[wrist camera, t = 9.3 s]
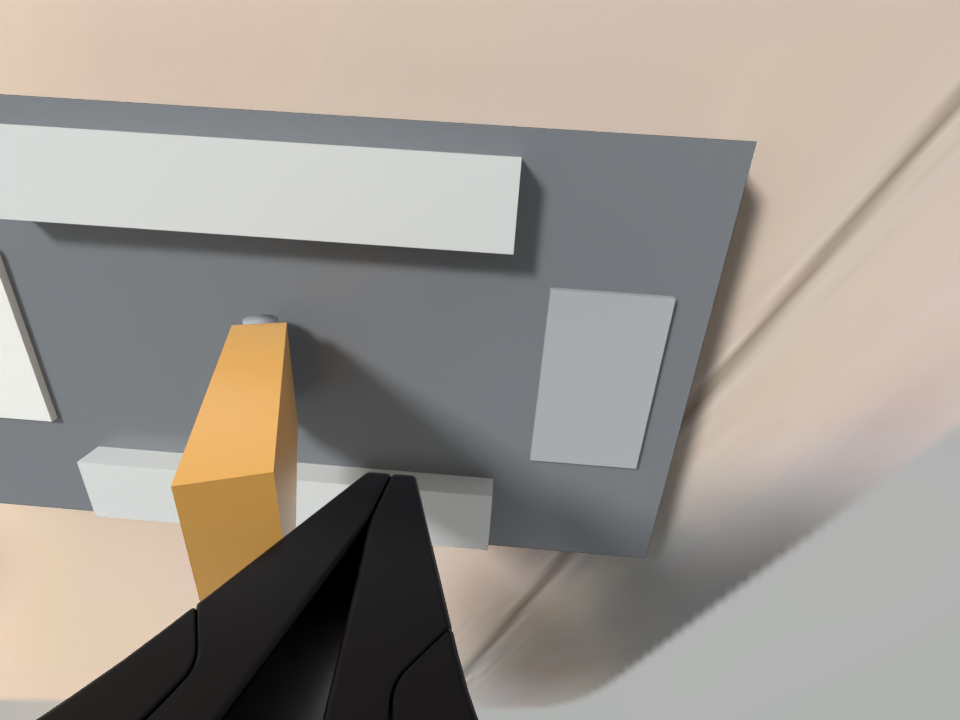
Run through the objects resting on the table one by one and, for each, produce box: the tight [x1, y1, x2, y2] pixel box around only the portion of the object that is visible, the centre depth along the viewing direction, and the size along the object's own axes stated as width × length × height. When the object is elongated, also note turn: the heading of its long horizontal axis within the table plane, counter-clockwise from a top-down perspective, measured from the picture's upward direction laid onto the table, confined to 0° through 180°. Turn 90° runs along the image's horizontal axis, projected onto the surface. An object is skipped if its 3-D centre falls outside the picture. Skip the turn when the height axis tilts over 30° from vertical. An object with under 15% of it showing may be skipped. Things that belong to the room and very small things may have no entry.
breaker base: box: [0, 94, 757, 558], centre depth 13 cm, size 22×12×2 cm, turn 87°
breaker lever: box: [171, 314, 298, 602], centre depth 10 cm, size 1×3×7 cm, turn 177°
